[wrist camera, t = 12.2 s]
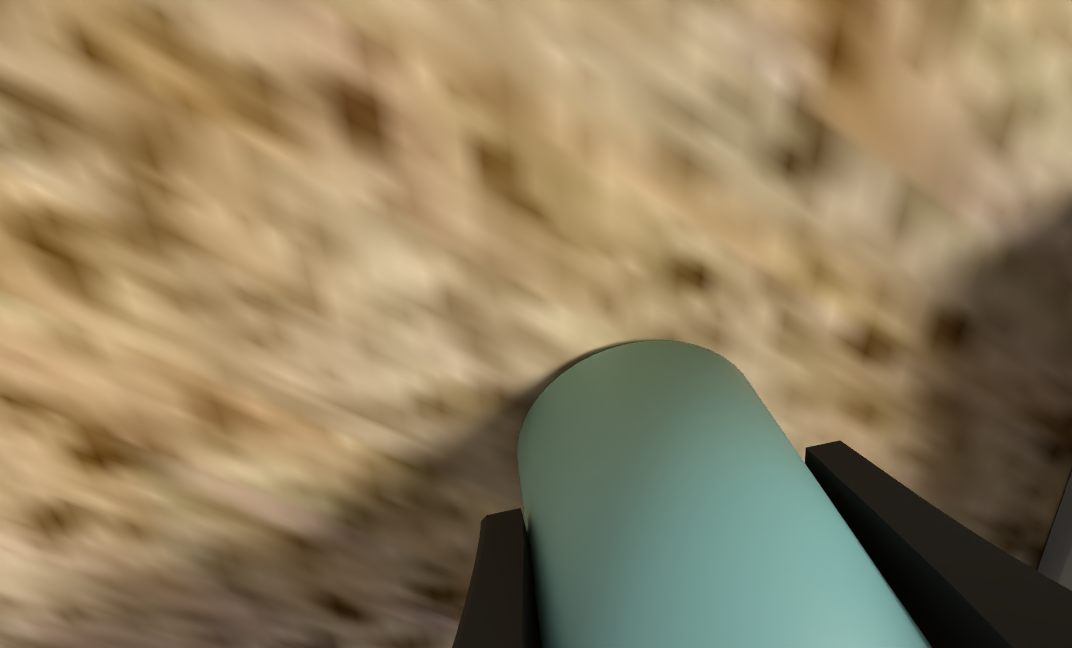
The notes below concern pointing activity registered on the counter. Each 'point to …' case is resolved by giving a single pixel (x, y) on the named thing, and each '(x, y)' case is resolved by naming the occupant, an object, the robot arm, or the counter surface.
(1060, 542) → the tote
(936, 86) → the counter surface
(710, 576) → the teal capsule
